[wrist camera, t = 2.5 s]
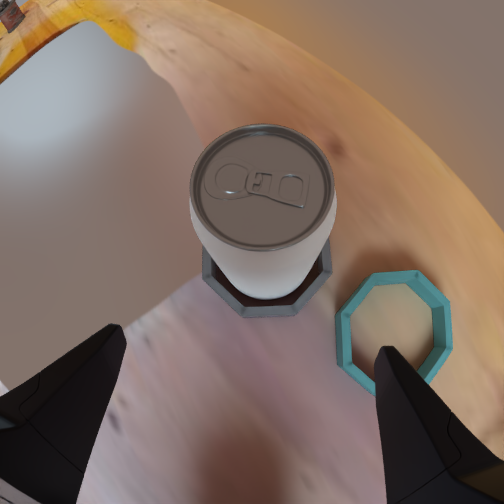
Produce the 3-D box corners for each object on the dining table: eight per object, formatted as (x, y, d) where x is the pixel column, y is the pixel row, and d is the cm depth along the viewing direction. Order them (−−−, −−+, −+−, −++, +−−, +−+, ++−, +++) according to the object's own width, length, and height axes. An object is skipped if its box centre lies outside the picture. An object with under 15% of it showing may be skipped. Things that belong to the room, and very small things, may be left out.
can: (234, 210, 24) (204, 108, 13) (316, 225, 24) (350, 130, 12) (214, 290, 23) (158, 244, 11) (301, 308, 22) (334, 279, 10)
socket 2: (392, 412, 19) (402, 417, 17) (311, 341, 21) (315, 342, 19) (456, 323, 21) (469, 322, 19) (384, 253, 23) (393, 246, 21)
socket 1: (269, 342, 22) (269, 343, 20) (184, 260, 23) (177, 254, 22) (348, 253, 23) (355, 246, 21) (263, 182, 25) (262, 170, 23)
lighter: (15, 29, 42) (-2, 5, 32) (6, 35, 42) (-10, 12, 32) (27, 14, 44) (13, -9, 35) (18, 19, 44) (4, -3, 35)
